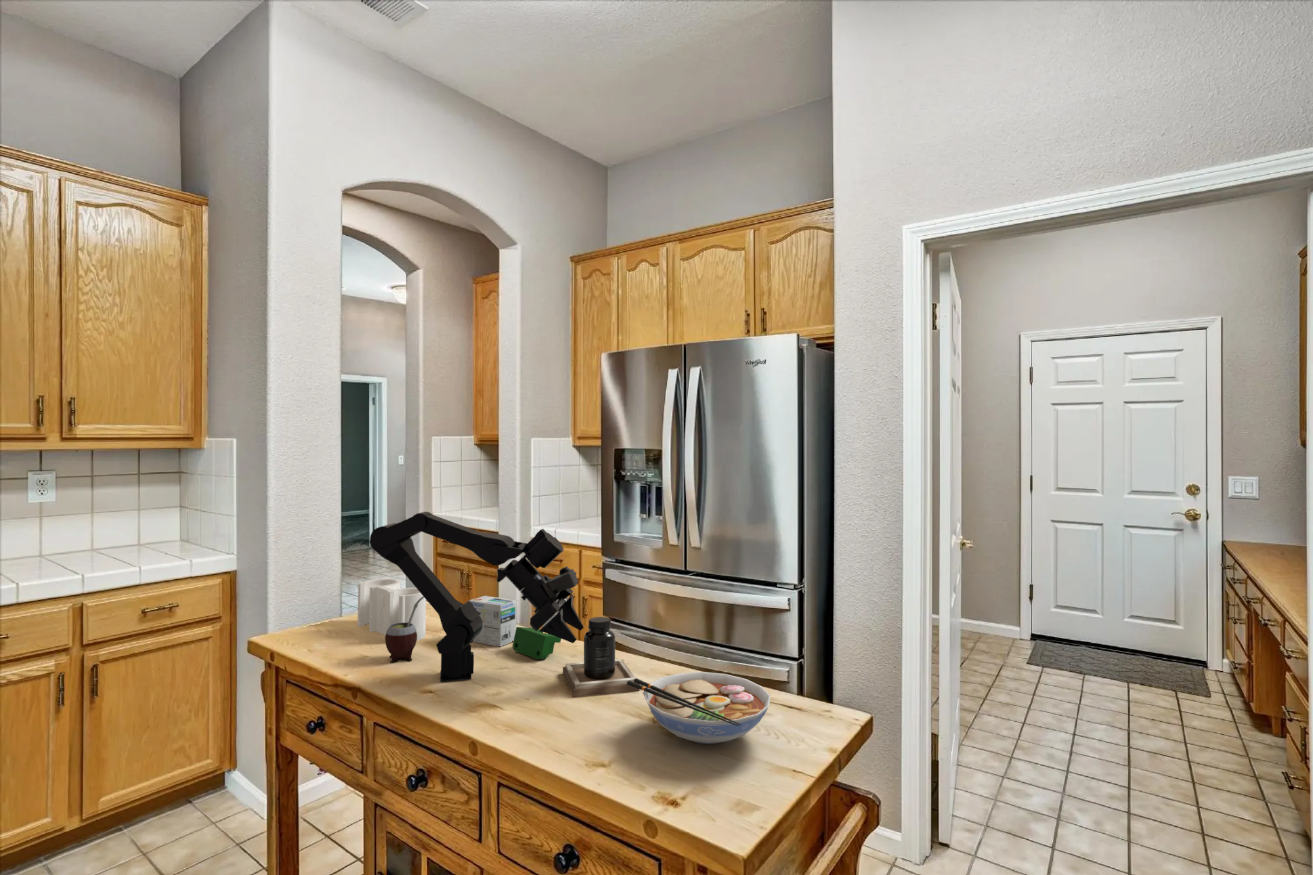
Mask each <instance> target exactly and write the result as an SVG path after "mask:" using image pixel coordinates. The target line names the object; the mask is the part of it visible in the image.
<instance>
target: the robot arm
mask: <svg viewBox="0 0 1313 875" xmlns="http://www.w3.org/2000/svg"><path fill="white" fill-rule="evenodd" d="M419 533H424V534H427V535H429V536H432V537H434V538H437V539H441V540H443V541H445V542H449V543H451V544H454V545H457V546H459V547H462V548H465V549H467V550H469V551H471V552H472V553H473V554H474V555H476V557H478V558H479V559H482V560H483V561H485V562H486V563H487V564H489V565H492V566H496V567H497V566H501V565H503V564H505V563H506V562H508V561H510V560H511V561H510V562H509V563H508V564H507V565H505V567H500V568H497V571H496V572H497V576H496V577H497V578H496V582H497V583H500V582H502V581H504V579H506V578H507V579H508V580H509V581H510V582H511V583H512V584H513V586H514V587H515V588H516V589H517V590H518V592H520V593H521V595H522V596H521V597H520V598H521V599H522V600H523V601H526V600H527V601H528V602H529V603H530V604H531V605H532V606H533V608H535V609H534V610H533V613H534V614H533V615H532V616H531V617H530V620H529V625H530V627H531V628H533V629H534V630H535V631H537V630H538V629H540V630H539V631H540V632H543V633H546V634H550V635H553V636H556V637H558V638H561V640H563V641H565V642H568V643H570V644H574V643H575V642H576V641H577V637H576V636H575V635H574V633H573V632H572V629H570V627H569V626H571V627H572V628H575V629H576V630H578V631H582V630H583V629H584V624H583V623H582V621H581V618H580V617H579V615H578V613H577V612H576V609H575V607H574V605H573V604H574V597H575V596H574V594H572V593H573V592H574V591H573V588H574V587H576V586H577V584H579V579H578V577H577V572H576V571H575V570H574V569H573V568H569V567H568V566H564V567H561V568H560V569H559V574H558V575H556V576H554V577H552V578H551V577H550V576H549V575H547V574H544V575H542V574H541V573H540V572H539V571H538V569H539V568H542V569H546V568H547V567H548V566H549V565H550V564H551V563H553V561H555V559H556V558H557V557H559V556H560V555H561V554H562V553H563V552H564V550H565V549H564V547H563V545H562V543H561V541H560V540H558V539H557V537H556V536H554V535H552V534H551V533H549V532H547V531H546V530H545V529H544V528H541V529H540V530H539V531H537V532H536V533H535V535H534V536H533V537H532V538H531V539H530V540H529V541H528V542H527V543H526V542H521V541H516V540H515V539H514V538H512V537H511V536H509V535H505V534H499V533H494V532H493V533H492V532H484V531H483V532H482V531H478V530H475V529H474V528H473V529H472V528H470V527H467V526H464V525H462V524H459V523H456V522H453V521H451V520H448V519H445V518H443V517H440V516H437V515H434V514H433V513H432V512H430V511H422V512H418V513H415V514H414V515H412V516H410V517H408V518H407V519H404V520H402V521H400V522H395V523H394V522H393V523H390V524H385V525H383V526H378V527H376V528H375V529H373V530H372V532H371V534H370V535H369V536H370V537H369V546H370V547H371V548H372V550H373V551H374V552H375V553H377V554H378V555H380V557H382V559H385V560H386V561H388V562H390V563H392V564H394V565H396V566H397V567H398V568H399V569H400V571H401V572H402V573H403V574H404V575H405V576H406V578H407V579H409V580H408V581H410V582H411V584H412V585H413V586H414V588H417V589H418V591H419V592H420V593H421V594H422V595H423V596H424V598H425V599H426V602H427V603H428V604H429V605H430V606H431V607H432V609H433V610H434V611H435V612H436V613H437V614H438V616H439V620H440V624H441V627H442V630H443V632H444V633H445V636H443V637H442V638H441V639H440V640H439V641H438V642H437V643H436V649H437V651H438V654H440V656H441V657H440V673H439V674H440V675H439V682H441V683H444V682H455V681H467V680H469V681H470V680H472V675H473V674H474V671H475V670H474V669H475V668H474V667H475V666H474V664H475V660H474V659H475V653H474V651H472V645H471V644H472V643H474V642H473V641H474V638H475V637H476V636H477V635H478V634H479V633H480V632H481V630H482V625H483V621H482V619H481V617H480V616H479V615H481V613H480V612H478V611H477V610H476V609H475V608H474V606H473V604H472V603H471V602H470V601H469V600H467V601H466V602H465V603H462V602H461V601H459V600H457V599H456V598H455V597H454V596H453V594H452V593H451V592H450V591H449V590H448V589H447V588H446V587H447V586H445V585H444V584H443V582H442V581H441V580H440V579H439V578H438V577H437V576H436V574H435V573H434V572H433V571H432V570H431V569H430V567H429V566H428V564H426V563H425V561H424V560H423V559H422V558H421V557H420V555H419V554H418V553H417V551H416V547H415V544H414V541H413V539H412V537H414V536H416V535H418V534H419ZM523 554H524V555H523ZM521 555H523V556H522V557H521V558H520V559H519V560H516V558H517V557H519V556H521ZM512 559H513V560H512Z"/></svg>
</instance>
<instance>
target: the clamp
mask: <svg viewBox="0 0 1313 875" xmlns="http://www.w3.org/2000/svg"><path fill="white" fill-rule="evenodd" d="M540 629H541V628H539V629H538V630H537V631H535V630H534V629H533V628H532V627H527V626H526V627H525V626H516V632H515V637H514V641H513V642H512V649H513V651H514V652H517V653H520V654H522V655H525V656H527V657H530V658H533V659H536V660H546V659H547V658H548V656H549V655H552V654H554V649H555V643H556V644H560V643H561V640H562V639H561V638H558V637H556V636H553V635H550V634H548V633H545V632H540V631H539V630H540Z"/></svg>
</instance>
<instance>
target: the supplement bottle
mask: <svg viewBox="0 0 1313 875" xmlns="http://www.w3.org/2000/svg"><path fill="white" fill-rule="evenodd" d="M611 620H612V619H611V618H609V617H607V616H606V617H604V616H594V617H591V618H589V619H588V626H587V627H588V629H589V630H588V631H586V633H585V634H584V637H583V662H584V675H585V676H586V677H588V678H590V679H607V678H610V677H612V676H613V675H614V673H615V660H616V635H615V633H614V631H612V630H611V628H612V625H611V624H612V623H611Z"/></svg>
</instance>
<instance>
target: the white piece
mask: <svg viewBox="0 0 1313 875" xmlns="http://www.w3.org/2000/svg"><path fill="white" fill-rule="evenodd" d="M421 597H423V595H422V594H421V593H420V592H419V591H418V589H417V588H416V587H404V588H401V580H400V579H397V578H378V579H377V578H373V579H369V580H364V581H359V582H358V583H357V627H359V628H360V627H365V626H367V625H369V626H368V627H369V628H368V632H372V633H373V632H377V633H379V634H382V635H384V636H385V635H386V631H387V629H388V628H389V627H390V626H391V625H392V624H396V623H408V622H409V619H410V617H411V614H412V611H413V608H414V605H415V603H416V602H417V601H418V600H419V599H420V598H421ZM426 610H427V600H426V599H425V598H423V599H422V600H421V601H420V602H419V603H418V606H417V608H416V610H415V612H414V615H413V618H412V620H411V623H412V624H413V625H414V626H415V628H416V632H417V641H421V640H423V639H424V638H425V637H426V626H427V625H426V619H427V618H426V616H427V611H426ZM417 641H416V642H417Z"/></svg>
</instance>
